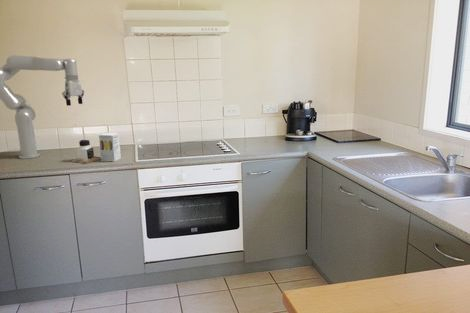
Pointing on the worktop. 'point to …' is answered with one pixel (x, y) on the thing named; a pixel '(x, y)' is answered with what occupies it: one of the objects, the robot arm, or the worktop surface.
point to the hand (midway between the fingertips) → (74, 104)
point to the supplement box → (109, 147)
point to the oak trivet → (86, 160)
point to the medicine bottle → (85, 150)
